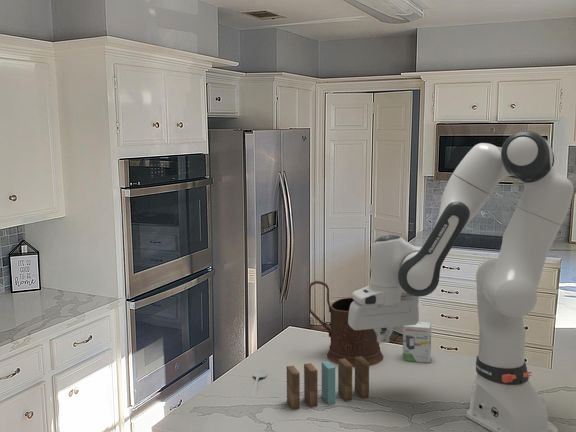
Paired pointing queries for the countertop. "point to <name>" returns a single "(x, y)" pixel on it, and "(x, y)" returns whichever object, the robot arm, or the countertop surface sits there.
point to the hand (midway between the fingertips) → (382, 341)
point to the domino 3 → (328, 382)
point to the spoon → (257, 372)
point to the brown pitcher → (348, 334)
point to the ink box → (417, 342)
